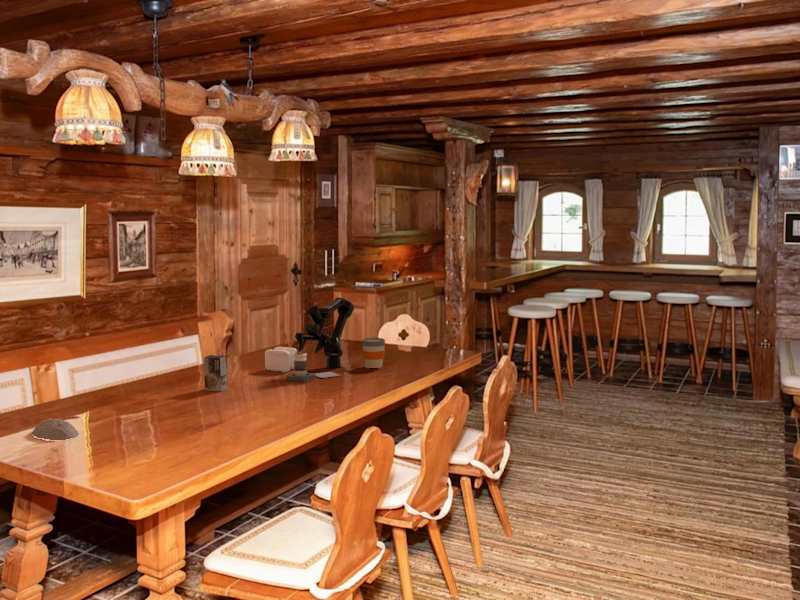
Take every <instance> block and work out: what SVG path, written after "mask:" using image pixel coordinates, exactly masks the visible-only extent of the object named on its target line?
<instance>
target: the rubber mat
mask: <svg viewBox="0 0 800 600" xmlns="http://www.w3.org/2000/svg"><path fill="white" fill-rule="evenodd" d="M314 374H315V376H316V377H315V378H318V377H319V378H318V379H320V378H324V379H329V378H328V377H332V378H336V377H335V376H339V377H341V374H338V373H336V372H332V371H324V372H316V373H314Z"/></svg>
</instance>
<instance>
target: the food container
mask: <svg viewBox="0 0 800 600" xmlns="http://www.w3.org/2000/svg"><path fill="white" fill-rule="evenodd" d="M32 434H33V435H34V436H36V437H38V438H44V439H50V440H66V439H70V438H74V437H77V436H78V435H79V436H80V433H79V431H78V430H77V429H76V428H75V427H74V426H73V424H71V422H69V421H65V420H63V419H61V418H49V417H48V418H47V419H45V420H42V421H41V422H39V423H38V424H37V425H36V426H35V427H34V428H33V429H32V432H31V435H32ZM79 436H78V437H79ZM78 437H77V438H78ZM74 439H75V438H74Z"/></svg>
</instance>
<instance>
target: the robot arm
mask: <svg viewBox="0 0 800 600" xmlns="http://www.w3.org/2000/svg"><path fill="white" fill-rule="evenodd" d="M336 310H337V314H338V316H337V319H336V322H335V325H334V327H333V331H332V333H331V336H330V335H329V334H327V333H326V334H324V332H323V331H324V328H325V327H327V326H328V323H327V319H328V320H329V319H330V318H332V316H333V313H334V312H335V311H336ZM354 310H355V306H354V304H353V303H352V302H351V301H349V300H347V299H346V298H344V297H335V298H334V299H333V300H332V301H330V303H327V304H326V305H323V306H320V307H319V306H318V305H313V306H312V307H310V308H309V309H307V315H308V317H309V318H310V320H311V321H312V323H313V324H311V323H306V324H305V325H304V331H305V332H306V334H307V335H306V334H305V333H304V332H296V333H295V335H294V338H295V339H296V340H297V341H296V342H298V353H302V351H303V349H304V347H305V346H306V343H307V341H315V342H318V343H317V344H316V347H315V350H314V353H315V354H317V353H318V352H319V351H321V350H322V349H323V352H324V356H325V357H327V358H326V365H325V367H327V368H329V369H337V368H338V367H339V368H342V367H343V366H342V365H341V357H343V354H344V351H343V349H342V347H341V346H342V345H341V342H340V341H341V340H340V339H341V337H342V334H343V332H344V328H345V325H346V323H347V320H348V318H350V317H351V316H352V314H353V312H354ZM339 368H338V369H339Z"/></svg>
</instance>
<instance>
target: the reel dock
mask: <svg viewBox="0 0 800 600" xmlns="http://www.w3.org/2000/svg"><path fill="white" fill-rule="evenodd" d="M315 374H316V373H312V372H311V373H310V372H307V376H305V377H299V376H295V372H293V373H292V374H287V375H286V378H285V379H286V380H289V381H288V382H293V381H298V382H297V383H304V382H305V383H307V382H309V380H310V381H312V380H311V379H313V380H315V379H316V377H315ZM314 378H315V379H314ZM306 381H307V382H306Z"/></svg>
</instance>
